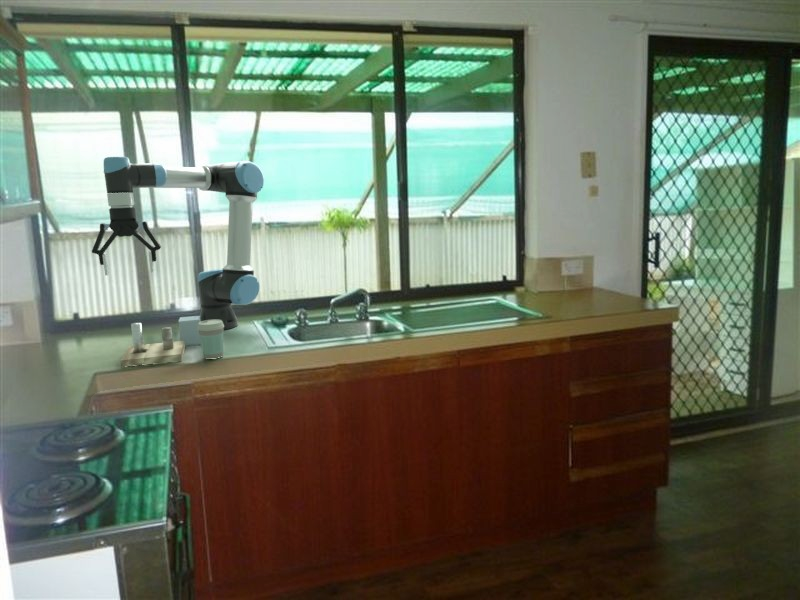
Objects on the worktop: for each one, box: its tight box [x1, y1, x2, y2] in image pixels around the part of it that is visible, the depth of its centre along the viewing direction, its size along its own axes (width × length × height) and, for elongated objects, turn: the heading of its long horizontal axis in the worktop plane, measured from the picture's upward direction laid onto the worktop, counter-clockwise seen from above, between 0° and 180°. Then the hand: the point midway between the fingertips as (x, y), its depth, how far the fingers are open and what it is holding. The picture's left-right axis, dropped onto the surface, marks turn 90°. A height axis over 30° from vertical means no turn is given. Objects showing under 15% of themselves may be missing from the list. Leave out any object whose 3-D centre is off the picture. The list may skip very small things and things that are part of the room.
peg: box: [130, 322, 145, 354], centre depth 199 cm, size 3×3×12 cm
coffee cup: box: [197, 319, 224, 359], centre depth 198 cm, size 8×8×12 cm
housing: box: [178, 315, 202, 347], centre depth 218 cm, size 7×7×9 cm
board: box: [120, 326, 186, 368], centre depth 201 cm, size 18×18×10 cm
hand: (130, 273), depth 195 cm, fingers open, 13 cm apart
